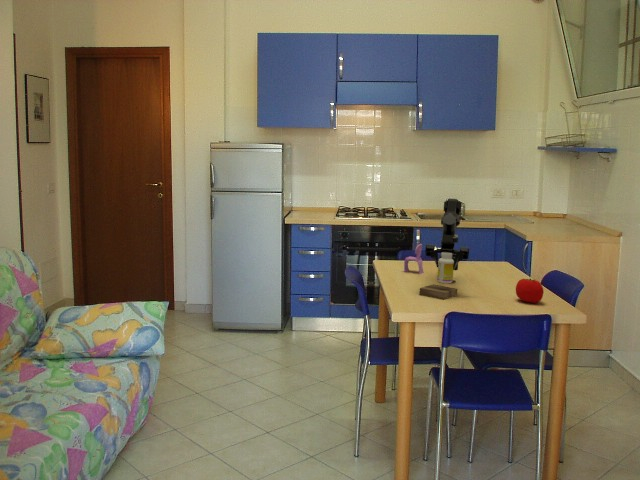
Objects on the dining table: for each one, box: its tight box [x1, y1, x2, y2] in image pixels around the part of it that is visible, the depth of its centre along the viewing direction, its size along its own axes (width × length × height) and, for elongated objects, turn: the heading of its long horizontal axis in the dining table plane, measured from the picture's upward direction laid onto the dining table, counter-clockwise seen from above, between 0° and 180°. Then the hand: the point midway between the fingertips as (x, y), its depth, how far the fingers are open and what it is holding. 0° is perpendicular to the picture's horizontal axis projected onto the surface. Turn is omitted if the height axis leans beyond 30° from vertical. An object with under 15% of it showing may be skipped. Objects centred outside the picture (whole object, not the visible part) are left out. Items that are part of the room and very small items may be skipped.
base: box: [418, 284, 459, 301], centre depth 310 cm, size 12×12×3 cm
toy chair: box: [403, 243, 424, 275], centre depth 361 cm, size 8×9×15 cm
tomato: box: [515, 278, 544, 304], centre depth 306 cm, size 11×13×10 cm
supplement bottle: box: [436, 252, 454, 284], centre depth 308 cm, size 7×7×13 cm
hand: (445, 267), depth 307 cm, fingers closed on supplement bottle, 7 cm apart
